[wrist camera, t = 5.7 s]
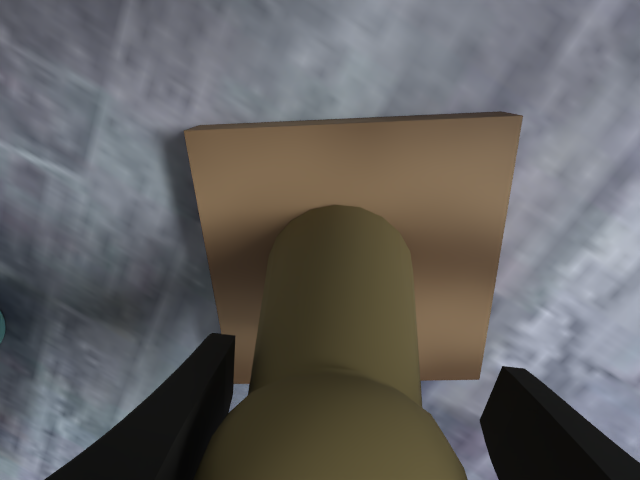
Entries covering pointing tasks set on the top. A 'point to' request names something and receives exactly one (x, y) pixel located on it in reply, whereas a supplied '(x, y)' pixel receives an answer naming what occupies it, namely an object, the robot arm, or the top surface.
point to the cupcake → (2, 327)
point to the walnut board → (370, 194)
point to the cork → (334, 364)
